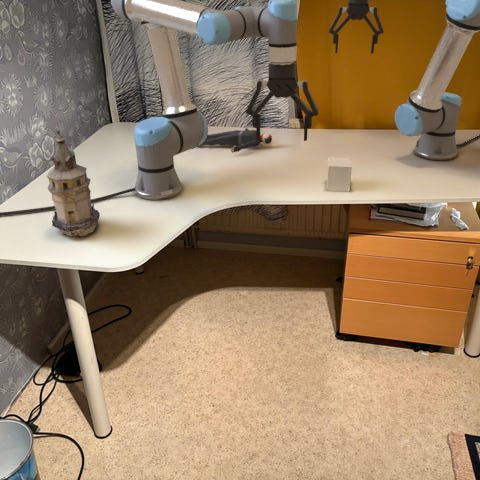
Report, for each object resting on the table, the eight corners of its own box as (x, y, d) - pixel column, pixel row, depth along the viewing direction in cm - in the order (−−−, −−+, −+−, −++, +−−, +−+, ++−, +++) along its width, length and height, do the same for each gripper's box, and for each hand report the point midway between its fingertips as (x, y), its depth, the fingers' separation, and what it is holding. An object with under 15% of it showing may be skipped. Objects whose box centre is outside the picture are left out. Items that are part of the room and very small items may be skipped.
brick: (348, 182, 183) (350, 158, 178) (349, 191, 176) (351, 166, 172) (326, 181, 183) (328, 157, 179) (326, 190, 177) (328, 166, 173)
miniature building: (80, 214, 164) (63, 117, 149) (111, 225, 157) (96, 125, 142) (44, 231, 154) (22, 130, 140) (75, 244, 147) (55, 139, 133)
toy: (206, 121, 227) (276, 121, 221) (207, 135, 230) (276, 136, 224) (189, 141, 205) (266, 142, 199) (190, 156, 208) (267, 158, 202)
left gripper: (329, 59, 145) (326, 135, 155) (239, 59, 149) (241, 133, 159) (328, 65, 138) (325, 144, 149) (234, 64, 143) (236, 141, 153)
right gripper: (393, -9, 198) (386, 51, 208) (324, -9, 201) (321, 50, 211) (395, -7, 191) (388, 55, 202) (324, -7, 195) (321, 54, 205)
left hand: (281, 138), depth 154 cm, fingers open, 13 cm apart
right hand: (354, 52), depth 207 cm, fingers open, 13 cm apart
